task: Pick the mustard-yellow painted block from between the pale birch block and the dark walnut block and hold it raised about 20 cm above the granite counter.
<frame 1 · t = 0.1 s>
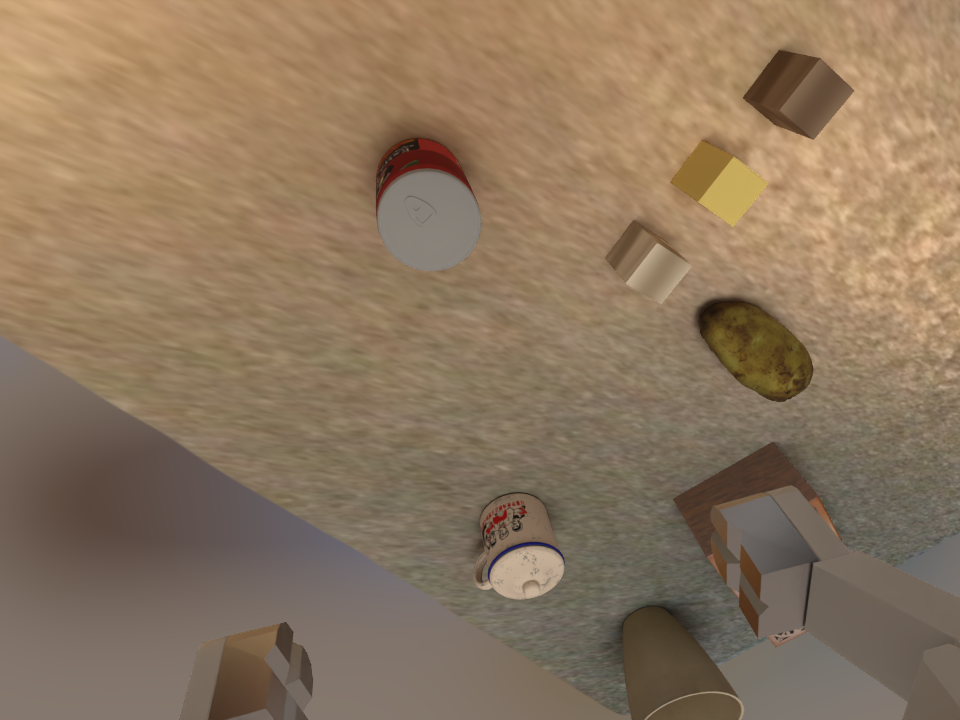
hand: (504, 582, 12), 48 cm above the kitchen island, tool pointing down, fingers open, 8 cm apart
plant pot: (645, 619, 96), on the kitchen island
mustard block: (702, 173, 59), on the kitchen island
tissue box cover: (753, 520, 88), on the kitchen island
birch block: (635, 249, 62), on the kitchen island
potato: (738, 330, 69), on the kitchen island
canned food: (420, 181, 55), on the kitchen island
walnut block: (776, 88, 56), on the kitchen island
teacup with lid: (503, 521, 80), on the kitchen island
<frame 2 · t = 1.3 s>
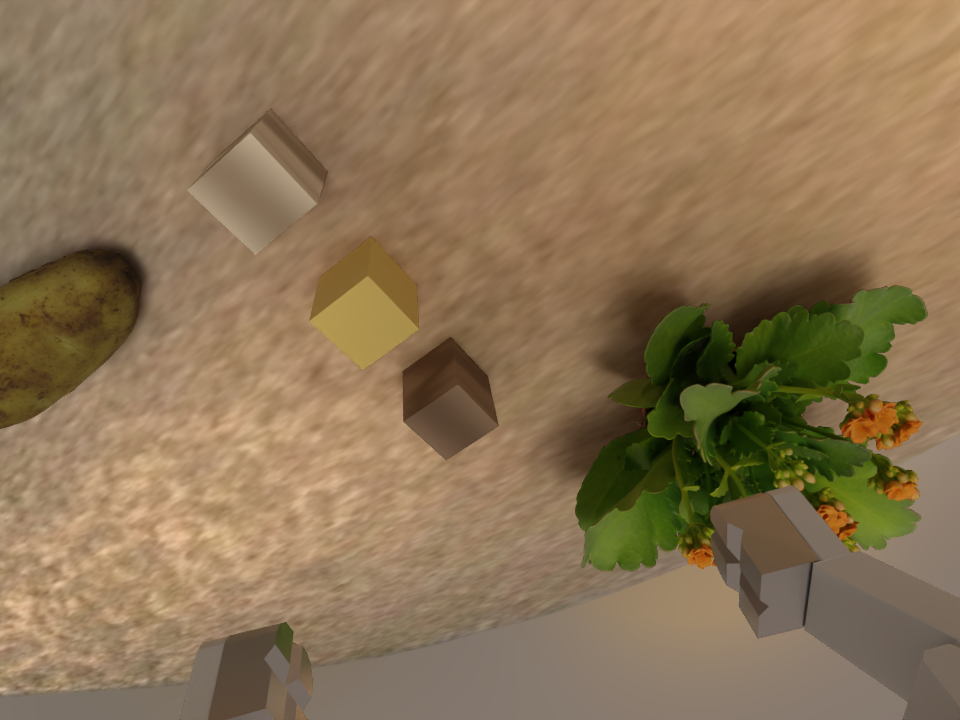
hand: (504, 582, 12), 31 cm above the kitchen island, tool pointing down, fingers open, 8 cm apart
mustard block: (368, 281, 41), on the kitchen island
potted flower: (689, 397, 50), on the kitchen island
birch block: (272, 164, 37), on the kitchen island
potato: (69, 310, 40), on the kitchen island
walnut block: (445, 373, 46), on the kitchen island
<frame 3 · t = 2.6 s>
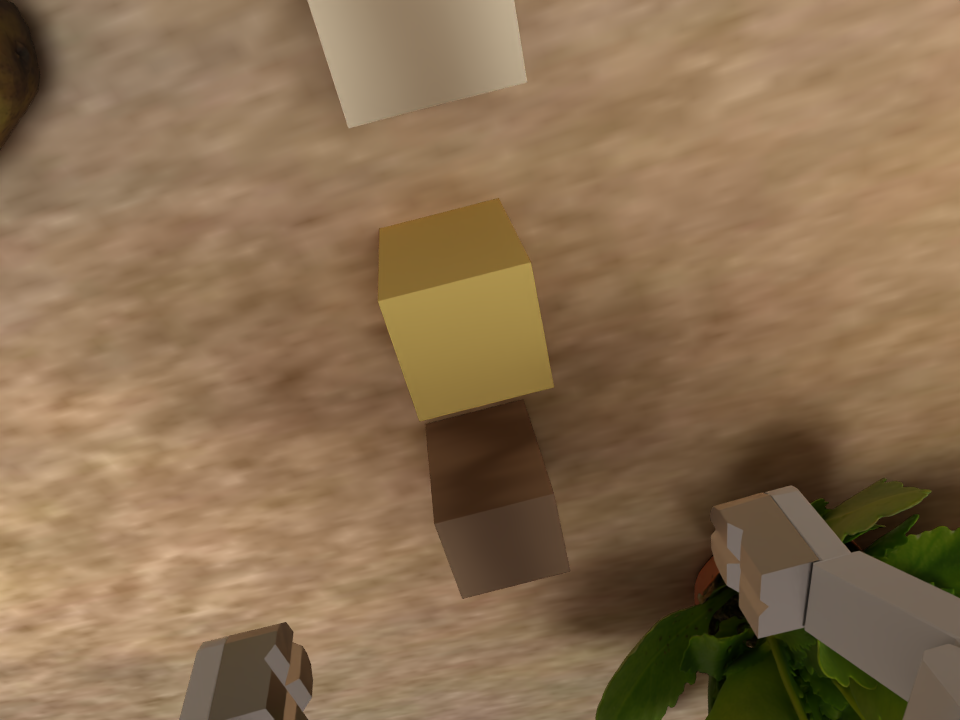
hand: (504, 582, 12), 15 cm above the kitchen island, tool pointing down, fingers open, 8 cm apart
mustard block: (453, 268, 24), on the kitchen island
potted flower: (753, 575, 37), on the kitchen island
walnut block: (484, 448, 29), on the kitchen island
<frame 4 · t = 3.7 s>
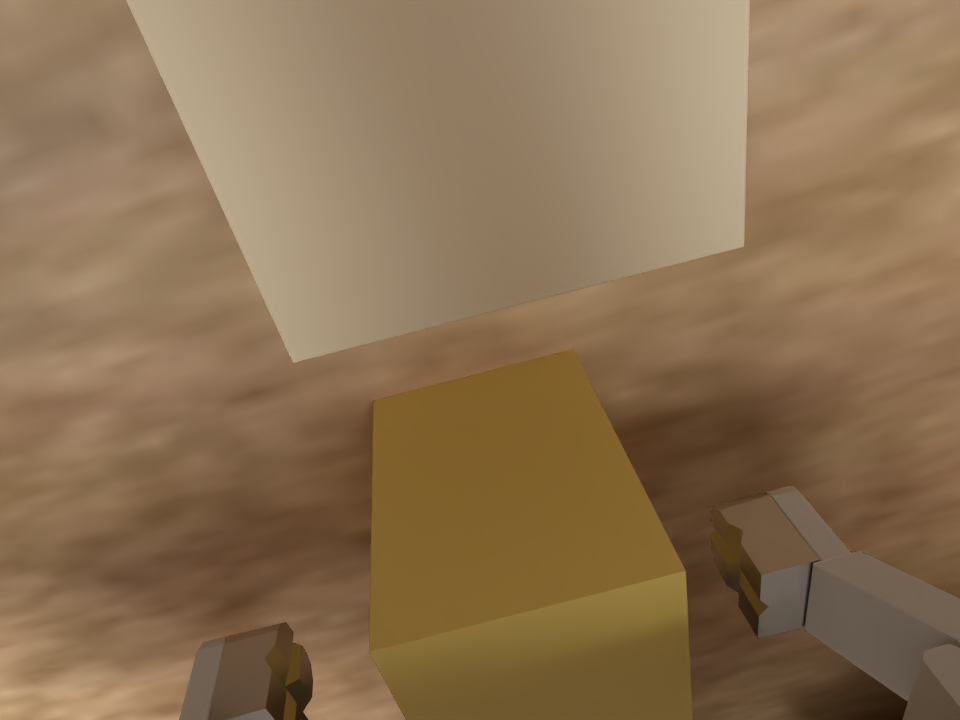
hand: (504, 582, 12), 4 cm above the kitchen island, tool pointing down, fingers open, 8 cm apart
mustard block: (493, 449, 15), on the kitchen island
birch block: (422, 11, 10), on the kitchen island
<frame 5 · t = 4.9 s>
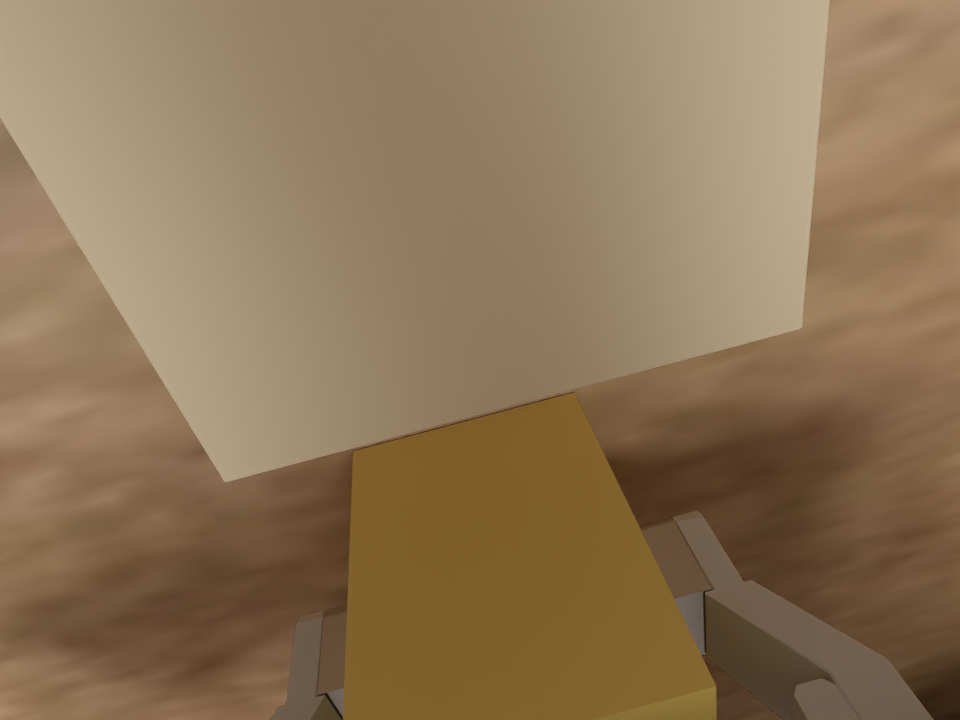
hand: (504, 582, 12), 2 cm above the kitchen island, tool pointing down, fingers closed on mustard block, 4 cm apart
mustard block: (487, 500, 13), on the kitchen island, touching gripper
birch block: (399, 21, 8), on the kitchen island
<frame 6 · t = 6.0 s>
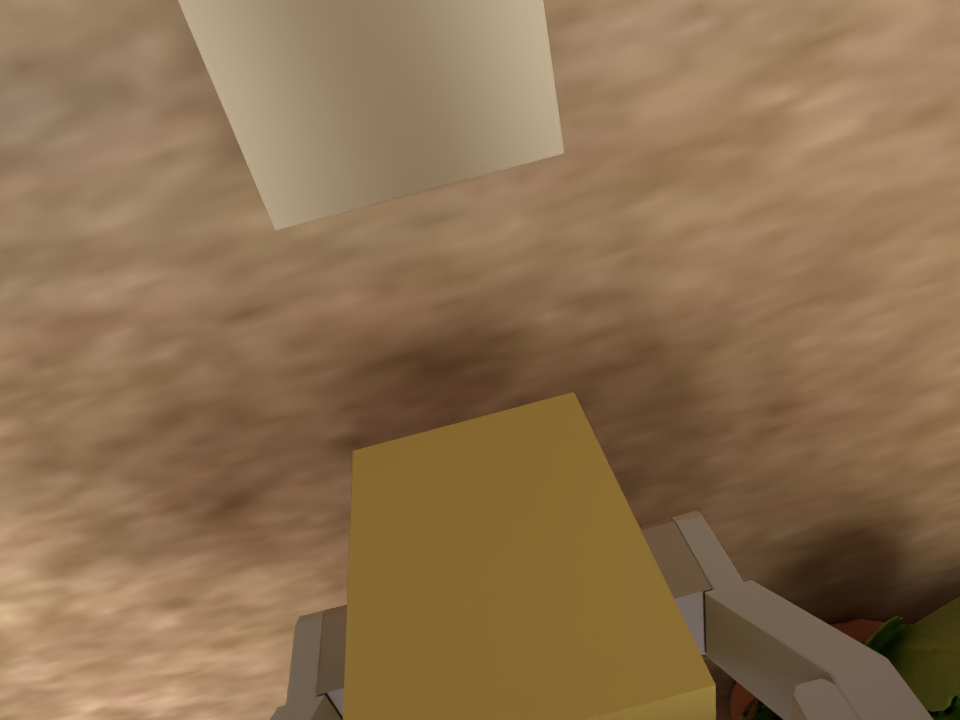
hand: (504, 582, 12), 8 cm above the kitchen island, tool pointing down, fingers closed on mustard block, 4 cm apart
mustard block: (487, 499, 13), point 6 cm above the kitchen island, touching gripper
potted flower: (797, 677, 32), on the kitchen island
birch block: (370, 5, 13), on the kitchen island
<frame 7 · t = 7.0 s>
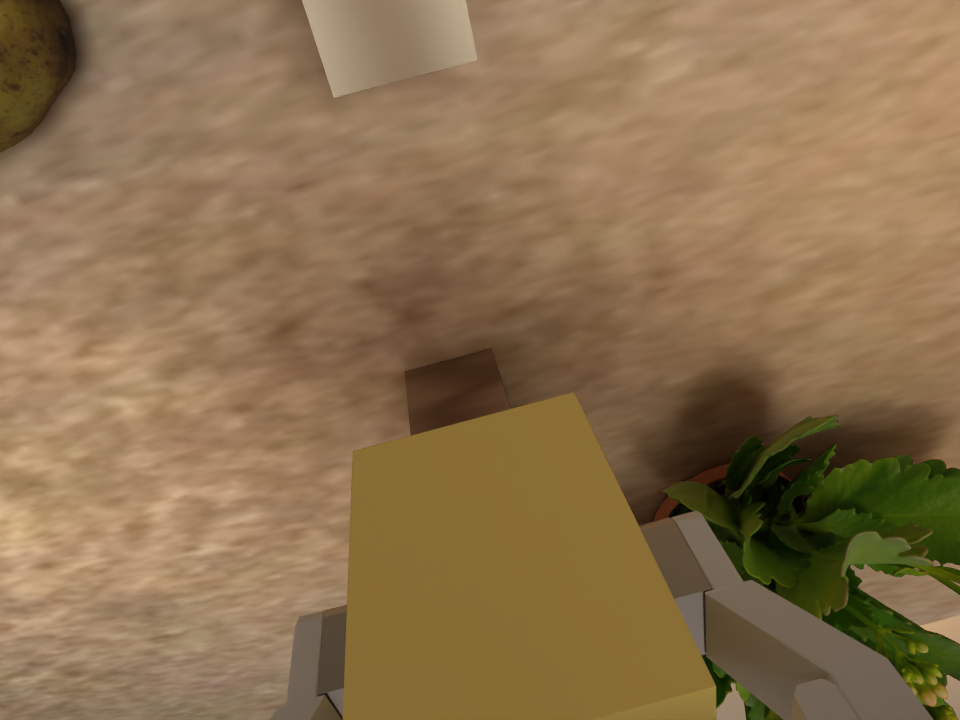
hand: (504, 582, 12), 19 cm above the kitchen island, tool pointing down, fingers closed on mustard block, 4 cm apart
mustard block: (487, 500, 13), point 17 cm above the kitchen island, touching gripper
potted flower: (706, 516, 41), on the kitchen island
walnut block: (458, 394, 33), on the kitchen island
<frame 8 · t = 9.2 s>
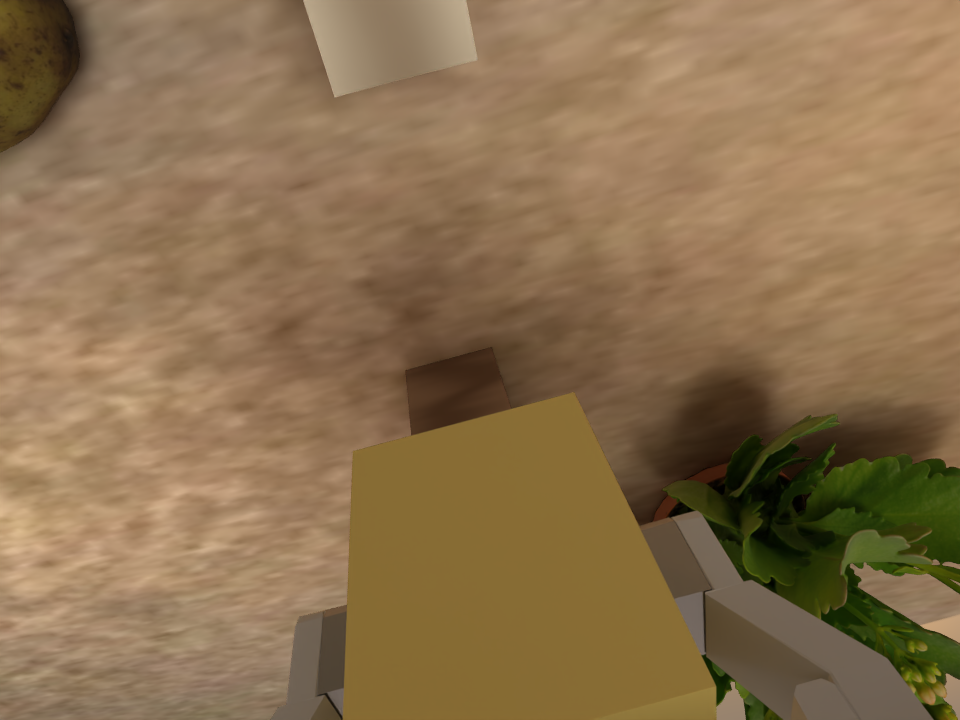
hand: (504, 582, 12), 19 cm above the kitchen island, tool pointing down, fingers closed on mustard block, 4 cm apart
mustard block: (487, 500, 13), point 17 cm above the kitchen island, touching gripper
potted flower: (706, 515, 41), on the kitchen island
walnut block: (458, 393, 33), on the kitchen island
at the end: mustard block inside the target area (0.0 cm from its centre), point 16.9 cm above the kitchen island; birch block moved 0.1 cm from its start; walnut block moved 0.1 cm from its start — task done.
